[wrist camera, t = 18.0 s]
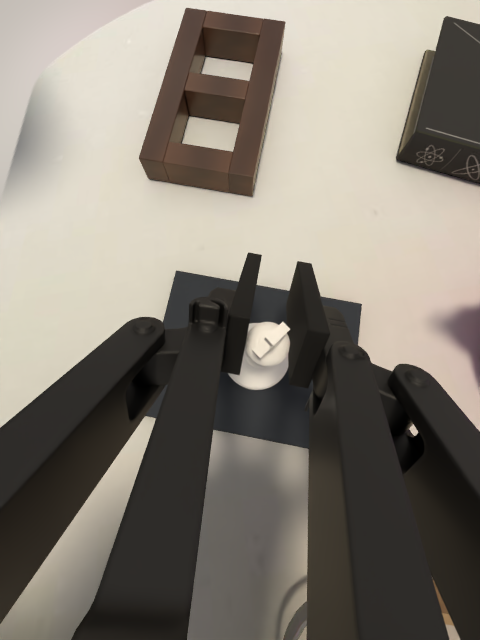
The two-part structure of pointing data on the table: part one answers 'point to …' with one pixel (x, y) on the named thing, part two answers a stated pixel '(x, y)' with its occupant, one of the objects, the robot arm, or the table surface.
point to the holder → (214, 101)
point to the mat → (241, 403)
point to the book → (447, 105)
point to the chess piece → (264, 356)
